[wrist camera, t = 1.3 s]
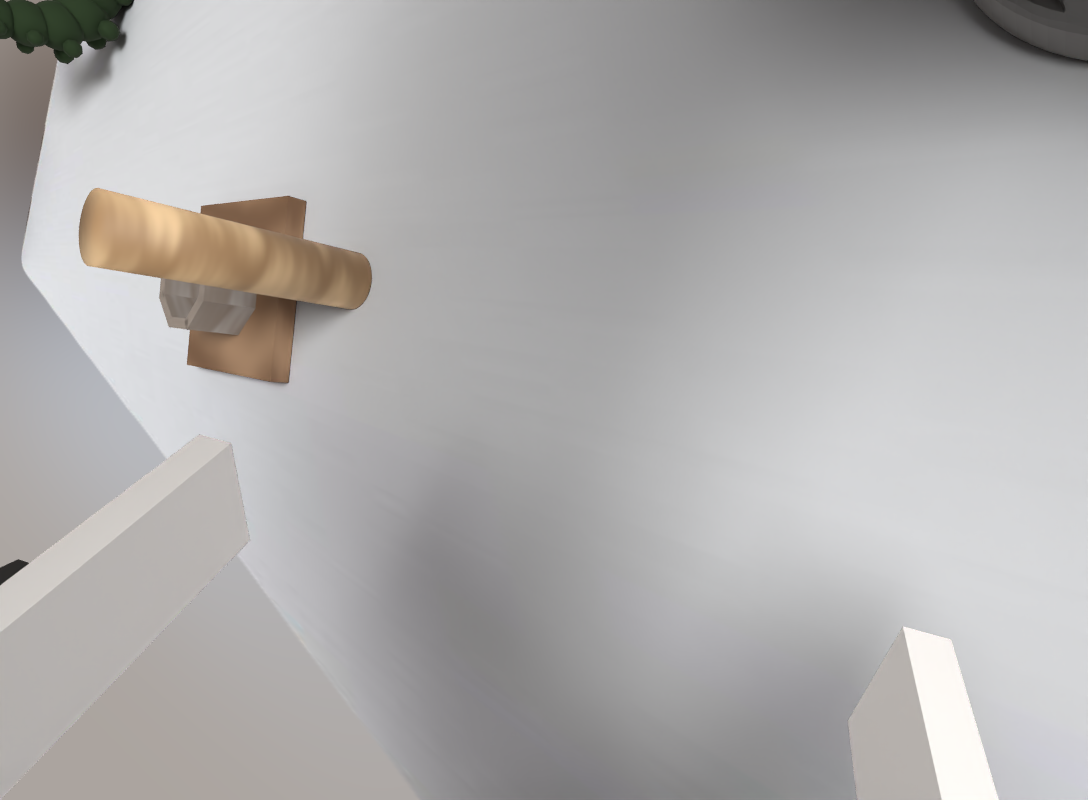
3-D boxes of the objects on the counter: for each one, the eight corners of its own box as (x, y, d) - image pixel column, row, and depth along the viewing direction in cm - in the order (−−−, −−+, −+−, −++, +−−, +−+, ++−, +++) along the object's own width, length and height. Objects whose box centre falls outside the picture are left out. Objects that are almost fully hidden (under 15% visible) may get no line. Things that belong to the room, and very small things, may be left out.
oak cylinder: (339, 253, 48) (82, 190, 35) (374, 252, 45) (110, 185, 33) (334, 308, 48) (76, 266, 35) (368, 310, 46) (104, 266, 33)
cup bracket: (218, 210, 59) (151, 193, 55) (306, 201, 51) (235, 180, 46) (204, 365, 60) (137, 360, 56) (288, 382, 51) (217, 378, 47)
